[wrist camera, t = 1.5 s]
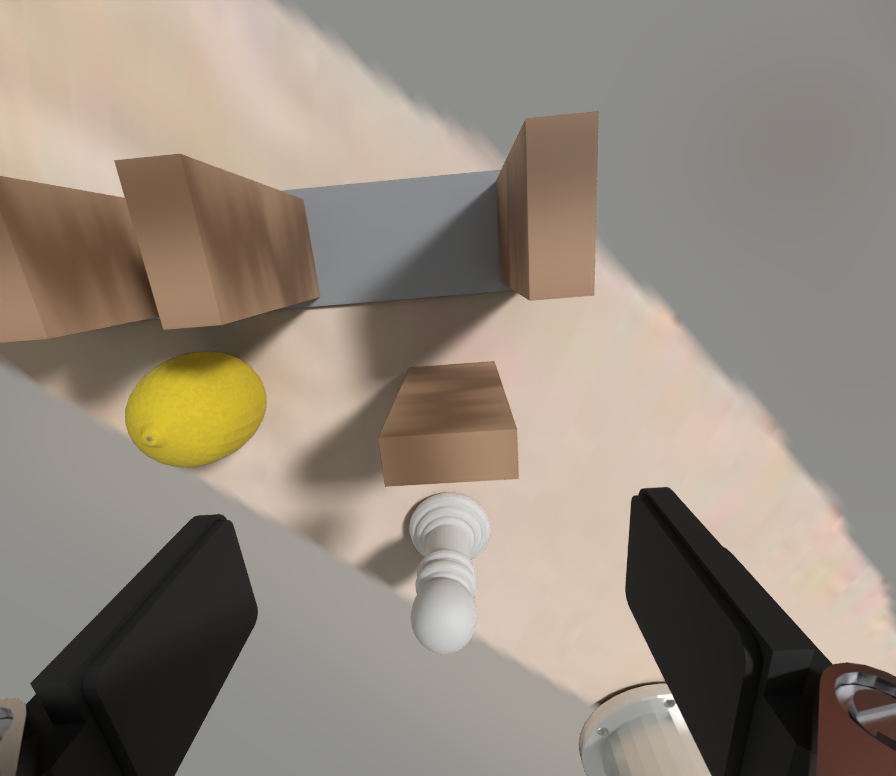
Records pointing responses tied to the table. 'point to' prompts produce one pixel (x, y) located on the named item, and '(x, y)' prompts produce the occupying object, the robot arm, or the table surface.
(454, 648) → the chess piece
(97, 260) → the domino
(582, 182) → the domino
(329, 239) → the grey flat board
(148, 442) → the lemon
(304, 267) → the domino
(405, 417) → the domino
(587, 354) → the table surface
